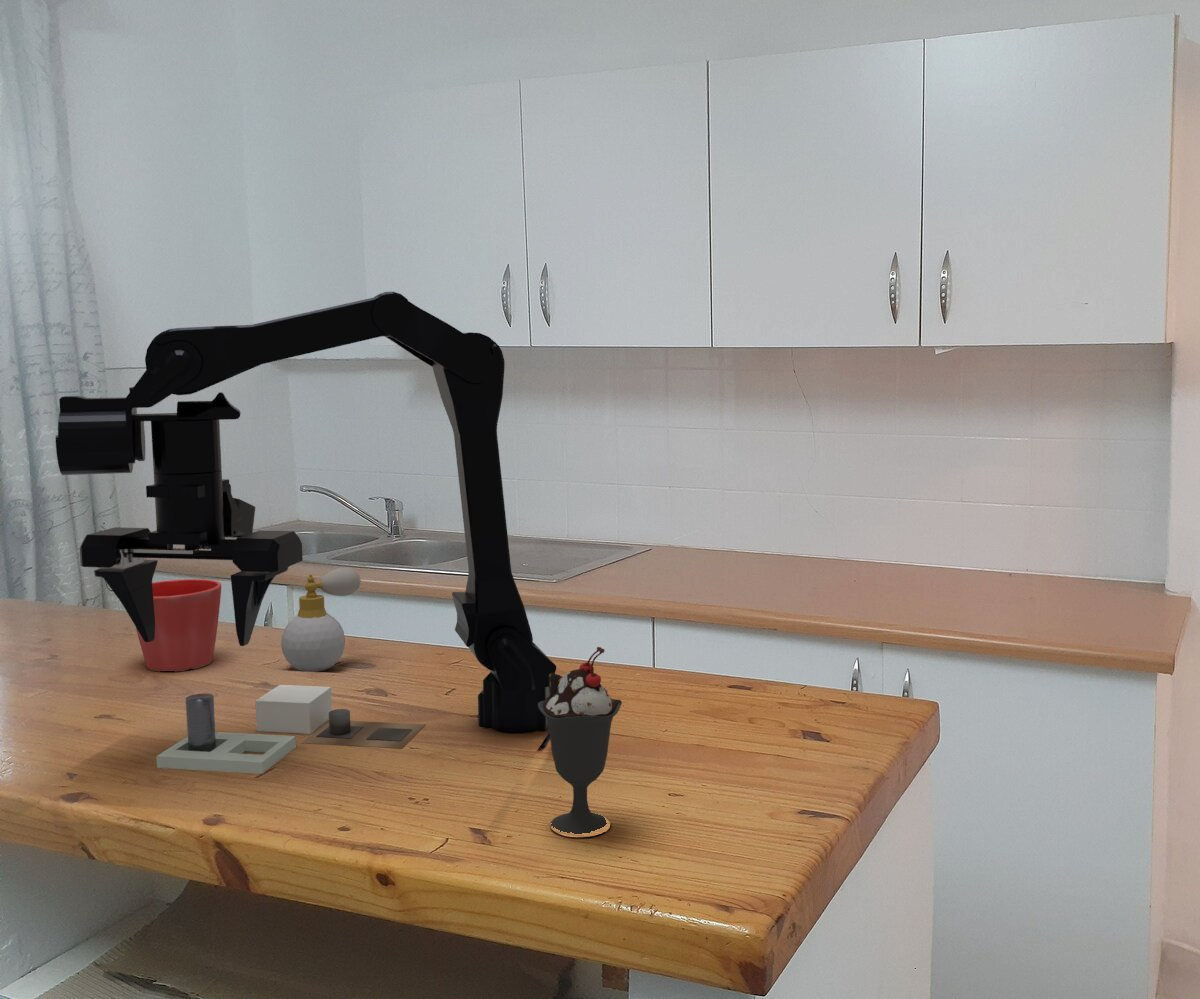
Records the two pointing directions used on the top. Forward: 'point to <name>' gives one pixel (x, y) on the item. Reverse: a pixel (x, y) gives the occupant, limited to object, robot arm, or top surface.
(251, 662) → the top surface
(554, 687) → the sundae
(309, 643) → the perfume bottle
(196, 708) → the peg
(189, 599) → the flower pot
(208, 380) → the robot arm
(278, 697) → the white rectangular block
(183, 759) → the board
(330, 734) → the board
